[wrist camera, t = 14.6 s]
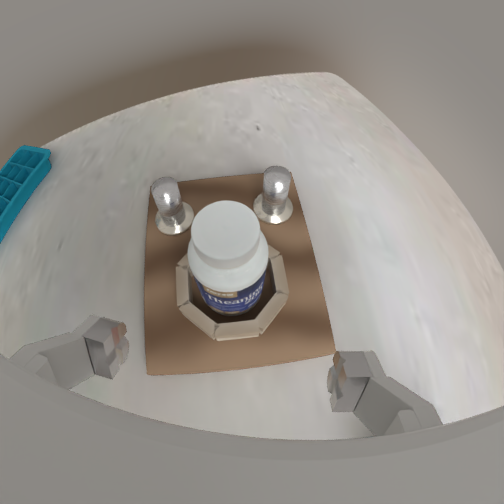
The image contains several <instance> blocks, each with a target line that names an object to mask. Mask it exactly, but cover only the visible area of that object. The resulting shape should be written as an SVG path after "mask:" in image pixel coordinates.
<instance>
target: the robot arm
mask: <svg viewBox="0 0 504 504" xmlns="http://www.w3.org/2000/svg"><path fill="white" fill-rule="evenodd" d="M126 332H127V331H126V325H125V324H124V323H123V322H119V321H115V320H112V319H108V318H104V317H100V316H97V315H90V316H89V317H88V318H87V319H86V320H85V321H84V322H83V323H82V324H81V325H80V326H79V327H78V328H77V329H75V330H74V331H73V332H72V333H65V334H62V335H59V336H55V337H52V338H49V339H45V340H42V341H38V342H35V343H32V344H28V345H25V346H23V347H22V348H21V349H20V350H19V351H18V352H17V353H15V354H14V355H13V356H12V357H11V358H10V359H8V358H6V357H5V356H3V355H1V354H0V504H504V406H501V407H499V408H496V409H494V410H491V411H488V412H485V413H482V414H479V415H476V416H473V417H470V418H466V419H463V420H459V421H456V422H452V423H448V424H444V425H443V424H442V422H441V420H440V418H439V416H438V414H437V412H436V410H435V408H434V406H433V405H432V404H431V403H429V402H427V401H426V400H424V399H423V398H421V397H420V396H418V395H417V394H415V393H414V392H412V391H411V390H409V389H408V388H406V387H405V386H403V385H402V384H400V383H399V382H397V381H396V380H394V379H393V378H391V377H386V375H385V373H384V371H383V368H382V366H381V364H380V362H379V360H378V358H377V356H376V354H375V352H374V351H336V352H335V354H334V357H333V362H334V365H333V366H332V367H331V368H330V370H329V373H328V378H327V388H328V392H330V393H331V394H332V395H331V398H330V403H331V408H332V412H354V414H355V415H356V416H357V417H358V418H359V419H360V420H361V422H362V423H363V424H364V425H365V426H366V427H367V428H368V429H369V430H370V431H371V432H372V433H373V434H374V435H375V437H365V438H353V439H336V440H287V439H269V438H256V437H246V436H238V435H230V434H223V433H216V432H210V431H204V430H198V429H193V428H188V427H183V426H179V425H174V424H170V423H166V422H162V421H158V420H154V419H150V418H146V417H143V416H139V415H136V414H133V413H129V412H126V411H123V410H120V409H117V408H114V407H111V406H108V405H105V404H102V403H100V402H97V401H94V400H92V399H89V398H87V397H84V396H82V395H79V394H77V393H75V392H72V391H70V390H68V389H70V388H72V387H74V386H76V385H78V384H79V383H81V382H83V381H85V380H87V379H89V378H90V377H92V376H94V375H95V374H96V375H99V376H102V377H106V378H109V379H113V378H114V377H115V375H116V374H117V372H118V371H119V364H122V363H124V362H125V360H126V359H127V356H128V353H129V343H128V340H127V339H126V337H125V336H124V335H125V334H126Z"/></svg>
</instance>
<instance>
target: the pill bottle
mask: <svg viewBox="0 0 504 504" xmlns="http://www.w3.org/2000/svg"><path fill="white" fill-rule="evenodd" d="M191 237H192V238H191V240H190V242H189V246H188V254H187V255H188V262H189V266H190V269H191V271H192V274H193V276H194V278H195V281H196V283H197V286H198V288H199V290H200V293H201V295H202V297H203V299H204V301H205V303H206V304H207V305H208V306H209V307H210V308H211V309H212V310H213V311H215V312H217V313H219V314H222V315H226V316H237V315H241V314H243V313H246V312H248V311H249V310H250V309H252V308H253V307H254V306H255V305H256V304H257V302H258V301H259V299H260V296H261V293H262V290H263V284H264V279H265V274H266V268H267V263H268V245H267V241H266V238H265V236H264V235H263V233H262V232H261V230H260V224H259V221H258V218H257V216H256V215H255V213H254V212H253V211H252V210H251V209H250V208H249V207H247V206H246V205H244V204H242V203H239V202H235V201H228V200H225V201H218V202H214V203H212V204H209V205H207V206H206V207H204V208H203V209H202V210H201V211H199V212H198V213H197V215H196V216H195V218H194V220H193V222H192V226H191Z"/></svg>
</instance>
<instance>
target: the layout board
mask: <svg viewBox="0 0 504 504" xmlns="http://www.w3.org/2000/svg"><path fill="white" fill-rule="evenodd" d="M290 174H291V172H290ZM263 181H264V173H262V174H249V175H238V176H227V177H217V178H208V179H199V180H191V181H183V182H177V185H178V188H179V192H180V196H181V199H182V202H185V203H187V204H189V205H190V206H191V208H192V209H193V212H194V218H195V216H196V215H197V213H198V212H199V211H201V210H202V209H203V208H204V207H206V206H207V205H209V204H212V203H214V202H218V201H225V200H228V201H235V202H239V203H242V204H244V205H246V206H247V207H249V208H250V209H251V210H252V211H253V204H254V201H255V199H256V198H257V196H259V195H260V194H262V193H263ZM151 187H152V186H151ZM287 197H288V198H289V199H290V200H291V202H292V205H293V211H292V215H291V217H290V218H289V220H287V221H286V222H285V223H282V224H279V225H269V224H266V223H263V222H262V221H260V220H259V219H258V221H259V224H260V230H261V232H262V233H263V235H264V236H265V238H266V241H267V245H268V263H267V268H266V274H265V279H264V284H263V290H262V293H261V296H260V299H259V301H258V302H257V304H256V305H255V306H254V307H253V308H252V309H250V310H249V311H248V312H246V313H243V314H241V315H237V316H226V315H222V314H219V313H217V312H215V311H213V310H212V309H211V308H210V307H209V306H208V305H207V304H206V303H205V301H204V299H203V297H202V295H201V293H200V290H199V288H198V286H197V283H196V281H195V278H194V276H193V274H192V271H191V269H190V266H189V262H188V255H187V254H188V246H189V242H190V240H191V238H192V237H191V227H190V228H189V229H188V230H187V231H186V232H184V233H183V234H180V235H177V236H168V235H165V234H163V233H161V232H160V231H159V229H158V228H157V226H156V222H155V218H156V214H157V212H158V211H159V210H158V207H157V205H156V203H155V200H154V198H153V195H152V193H151V188H150V197H149V207H148V219H147V233H146V250H145V277H144V323H145V350H146V367H147V375H176V374H194V373H208V372H219V371H230V370H239V369H247V368H255V367H263V366H270V365H276V364H283V363H289V362H295V361H300V360H306V359H311V358H316V357H321V356H326V355H331V354H334V353H335V352H336V349H335V344H334V339H333V334H332V329H331V324H330V320H329V315H328V311H327V306H326V302H325V297H324V293H323V289H322V284H321V280H320V276H319V272H318V268H317V264H316V260H315V256H314V252H313V248H312V244H311V240H310V237H309V233H308V229H307V225H306V222H305V218H304V215H303V211H302V208H301V204H300V201H299V197H298V194H297V190H296V187H295V184H294V180H293V177H292V174H291V181H290V186H289V191H288V196H287ZM253 212H254V211H253Z"/></svg>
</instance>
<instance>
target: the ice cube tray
mask: <svg viewBox="0 0 504 504" xmlns="http://www.w3.org/2000/svg"><path fill="white" fill-rule="evenodd" d="M50 154H51V152H50V150H49V149H43V148H38V147H32V146H26V145H24V146H21V147H20V148H19V149H18V150H17V151H16V152H15V153H14V154H13V155H12V157H11V158H10V159H9V160H8V162H7V163H6V164H5V165H4V166H3V168H2V169H1V171H0V243H1V241H2V239H3V238H4V236H5V234H6V233H7V231H8V229H9V228H10V226H11V224H12V223H13V221H14V220H15V218H16V216H17V215H18V213H19V212H20V210H21V209H22V207H23V206H24V204H25V203H26V201H27V200H28V199H29V197H30V196H31V194H32V193H33V192H34V190H35V189H36V188H37V186H38V185H39V184H40V182H41V181H42V180H43V178H44V177H45V176H46V175H47V173H48V172H49V171H50V169H51V163H50V161H49V159H48V158H49V157H50Z"/></svg>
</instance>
